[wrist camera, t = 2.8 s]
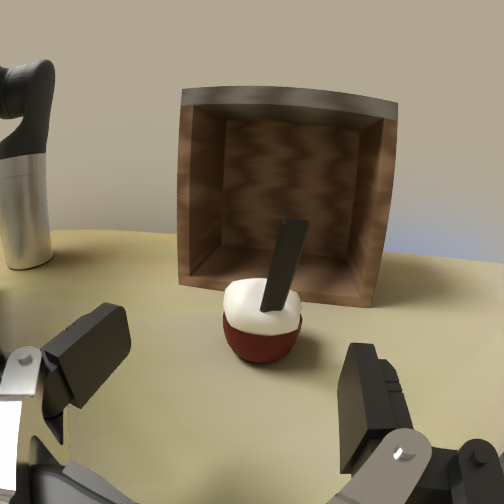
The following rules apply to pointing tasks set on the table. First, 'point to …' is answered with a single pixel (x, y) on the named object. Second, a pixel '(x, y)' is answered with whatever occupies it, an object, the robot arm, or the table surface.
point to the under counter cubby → (284, 186)
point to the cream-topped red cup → (267, 302)
